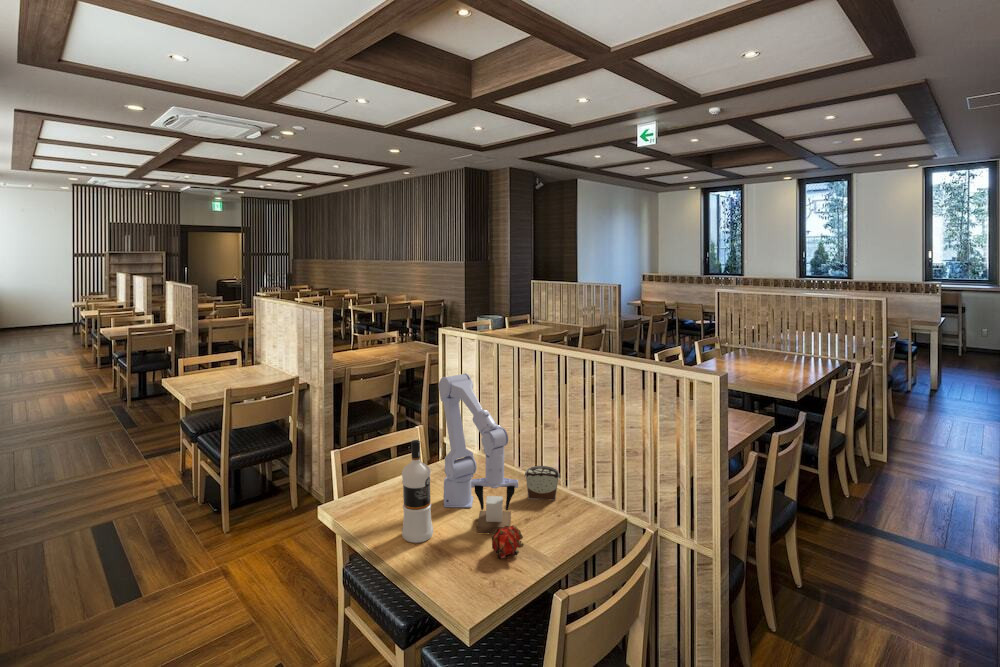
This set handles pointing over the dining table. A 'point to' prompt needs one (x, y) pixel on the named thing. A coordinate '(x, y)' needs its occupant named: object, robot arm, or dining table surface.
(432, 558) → the dining table surface
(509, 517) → the block
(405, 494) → the vodka
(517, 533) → the dragon fruit
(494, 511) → the ceramic block
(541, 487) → the food container
